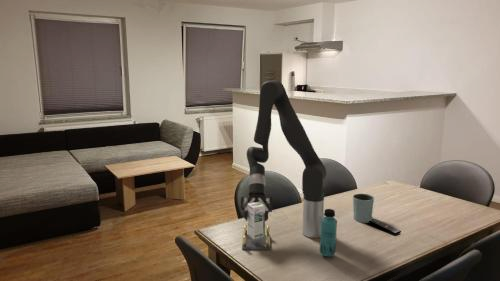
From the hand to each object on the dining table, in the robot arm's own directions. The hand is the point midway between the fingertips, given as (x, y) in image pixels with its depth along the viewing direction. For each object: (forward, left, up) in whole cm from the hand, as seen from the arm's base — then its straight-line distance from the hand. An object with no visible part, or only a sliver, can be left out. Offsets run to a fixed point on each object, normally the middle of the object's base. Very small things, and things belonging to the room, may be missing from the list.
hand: (256, 220), depth 159 cm
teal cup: (-41, -44, -11) cm, 61 cm away
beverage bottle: (-31, -1, -11) cm, 33 cm away
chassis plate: (0, -1, -11) cm, 11 cm away
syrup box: (+1, -1, -8) cm, 8 cm away
